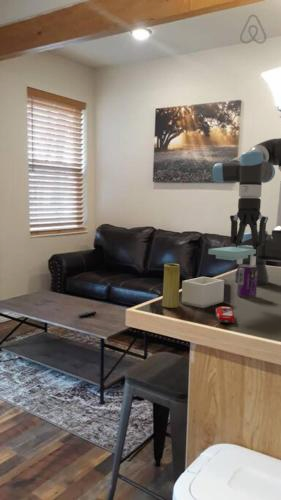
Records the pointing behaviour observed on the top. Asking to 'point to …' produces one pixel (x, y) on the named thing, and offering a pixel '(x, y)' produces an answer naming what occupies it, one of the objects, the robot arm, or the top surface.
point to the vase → (171, 286)
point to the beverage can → (247, 281)
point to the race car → (225, 315)
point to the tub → (202, 292)
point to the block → (232, 252)
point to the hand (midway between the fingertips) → (246, 264)
